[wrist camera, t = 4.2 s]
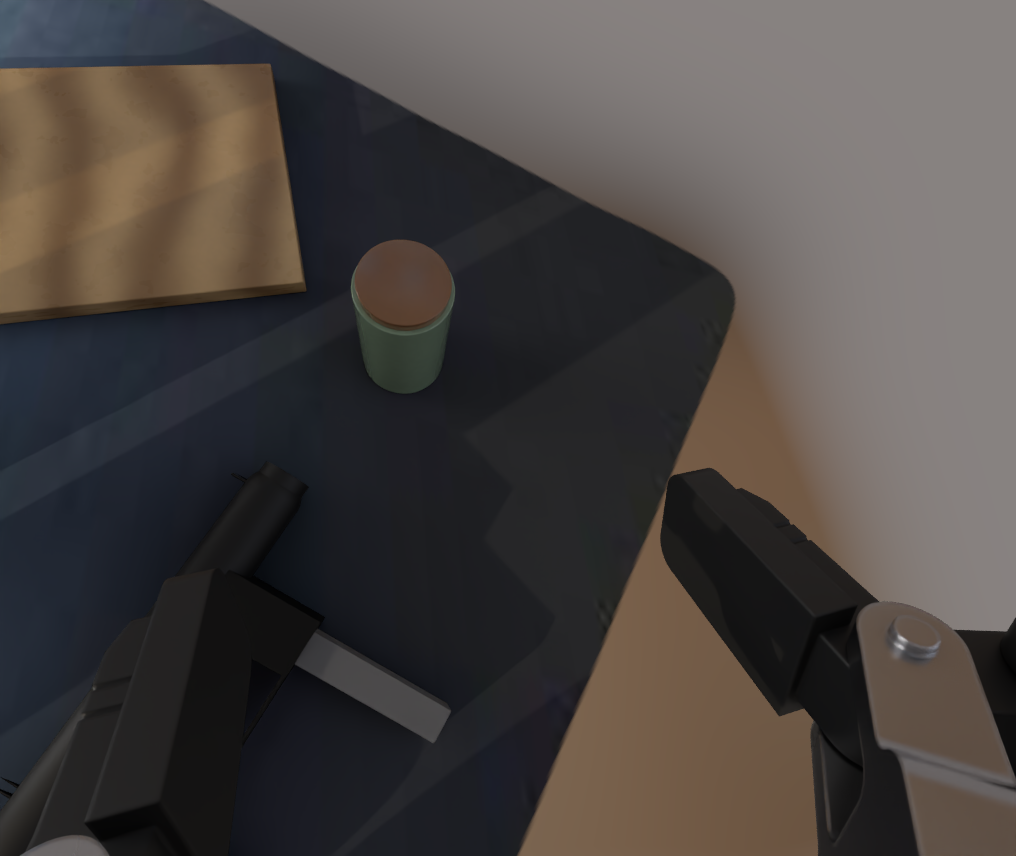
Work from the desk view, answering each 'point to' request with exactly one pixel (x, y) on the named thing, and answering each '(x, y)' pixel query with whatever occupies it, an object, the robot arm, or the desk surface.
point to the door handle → (251, 640)
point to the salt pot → (402, 313)
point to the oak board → (142, 189)
